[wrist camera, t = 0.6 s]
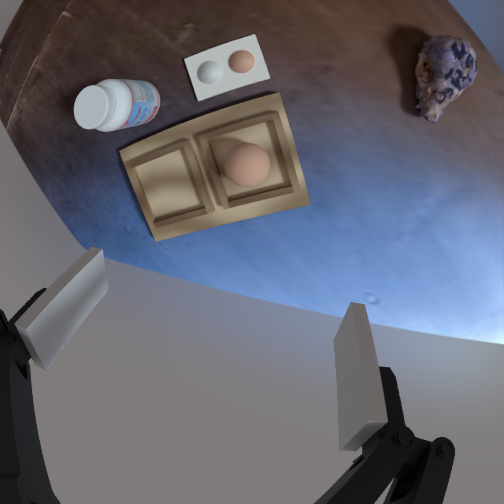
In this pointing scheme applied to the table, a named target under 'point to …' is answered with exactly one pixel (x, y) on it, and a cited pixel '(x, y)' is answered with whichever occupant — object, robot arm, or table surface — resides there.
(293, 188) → the tray
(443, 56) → the skull
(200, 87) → the card
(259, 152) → the egg
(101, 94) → the pill bottle
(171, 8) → the table surface
